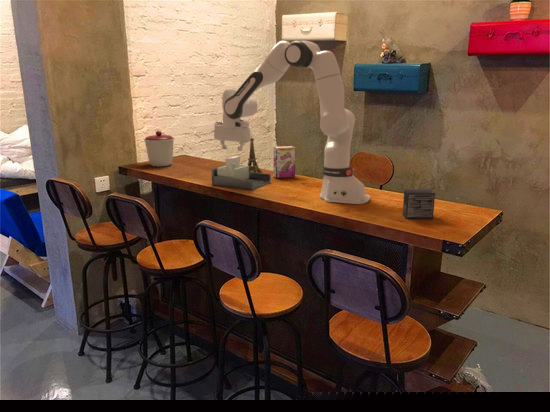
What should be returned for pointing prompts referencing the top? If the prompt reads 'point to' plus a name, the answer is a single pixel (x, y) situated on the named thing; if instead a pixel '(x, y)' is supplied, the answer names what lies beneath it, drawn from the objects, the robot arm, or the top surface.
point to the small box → (418, 203)
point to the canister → (159, 149)
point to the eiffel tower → (253, 159)
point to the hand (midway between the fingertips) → (232, 149)
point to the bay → (241, 180)
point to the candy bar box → (284, 162)
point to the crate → (234, 169)
